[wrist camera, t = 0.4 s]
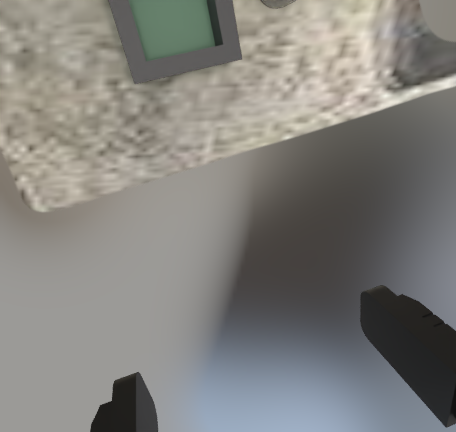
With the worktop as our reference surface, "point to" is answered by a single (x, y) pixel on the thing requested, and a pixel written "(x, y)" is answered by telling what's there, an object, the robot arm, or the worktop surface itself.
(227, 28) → the socket board
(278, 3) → the dark grey cylinder
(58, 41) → the worktop surface
